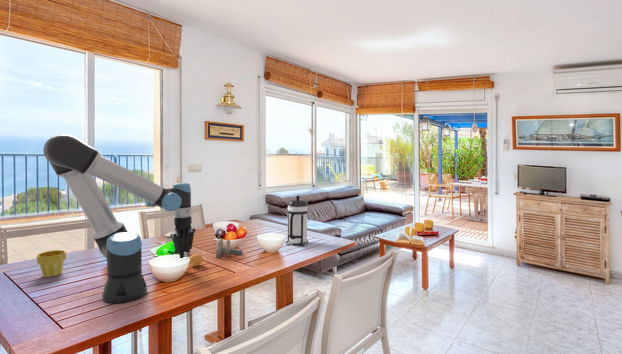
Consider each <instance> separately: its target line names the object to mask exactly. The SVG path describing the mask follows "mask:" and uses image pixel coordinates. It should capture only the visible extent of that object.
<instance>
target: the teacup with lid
mask: <svg viewBox="0 0 622 354" xmlns="http://www.w3.org/2000/svg"><path fill="white" fill-rule="evenodd" d="M174 232H175V229H172V230H171V231H169V232H168V233H166V234H165V235H164V238H165V244H166V243H168V242H170V241H173V239H172V237H171V235H170V234H171V233H174Z"/></svg>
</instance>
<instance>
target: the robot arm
mask: <svg viewBox="0 0 622 354" xmlns="http://www.w3.org/2000/svg"><path fill="white" fill-rule="evenodd" d="M43 156H44V157H45V159H46V160H47V161H48V162H49V164H50V165H51V167H52V169H53V171H54V173H55V174H56V176H57V177H61V178H63V179H64V180H65V182H66V184H67V186H68V188H69V189H70V190H71V192H72V194H73V197H74V198H75V199H76V201H77V203H78V204H79V206H80V208H81V209H82V212H83V214H84V215H85V217H86V218H87V221H88V222H89V224H90V226H91V228H92V229H93V231H94V233H93V236H92V238H93V240H94V241H95V244H96V245H97V247H98V250H99V252H100V253H101V255H102V256H104V258H105V259H106V268H107V270H106V271H107V279H106V282H105V284H104V288H103V291H102V300H103V302H105V303H109V304H124V303H130V302H133V301H136V300H139V299H141V298H143V297H144V296H145V295H146V294H147V293H148V286H147V283H146V281H145V280H146V279H145V277H144V275H143V271H142V270H143V269H142V268H143V267H142V266H143V265H142V264H143V263H142V254H143V253H142V245H143V244H142V237H141V236H140V235H139V234H138V233H135V232H128V229H127V228H126V226H125V224H124V223H123V222H120V221H118V220H117V218H116V216H115V215H114V213H113V211H112V209H111V207H110V205H109V204H108V202H107V199H106V198H105V197H104V194H103V193H102V190H101V189H100V187H99V185H98V183H97V181H96V179H95V178H94V177H96V178H97V179H100V180H102V181H103V182H106V183H107V184H110V185H113V186H114V187H117V188H118V189H121V190H122V191H125V192H128V193H129V194H132V195H133V196H136V197H138V198H139V199H140V198H141V200H142V199H143V200H144V204H145V206H146V207H148V208H155V207H158V208H161V209H164V210H165V211H167V212H173V217H174V218H173V219H174V220H173V222H174V226H175V229H174V230H175V232H174V233H171V234H170V235H171V237H172V239H173V243H174V247H175V251H176V252H175V253H177V254H179V259H180V258H183V257H188V258H189V253H190V252H191V250H192V249H193V242H194V235H195V232H196V228H193V227H192V222H193V220H192V189H191V184H190V183H188V182H176V183H173V184H172V187H170V188H164V187H163V186H161V185H159V184H157V183H155V182H153V181H151V180H150V179H147V178H145V177H143V176H141V175H139V174H137V173H136V172H134V171H131V170H130V169H128V168H126V167H124V166H122V165H120V164H119V163H116V162H115V161H112V160H110V159H109V158H106V157H105V156H103V155H101V153H100V151H99V150H98V149H95V148H94V147H92V146H90V145H88V144H87V143H85V142H84V141H83V140H81V139H80V138H79V137H76V136H74V135H71V134H59V135H55V136H53V137H52V136H51V137H50V138H49V139H48V140H46V142H45V144H44V145H43Z"/></svg>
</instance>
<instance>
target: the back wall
mask: <svg viewBox="0 0 622 354" xmlns="http://www.w3.org/2000/svg"><path fill="white" fill-rule="evenodd" d="M223 254H225V246H223ZM230 255H235V256H243V250H242V249H237V248H231V247H230Z"/></svg>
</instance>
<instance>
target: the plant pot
mask: <svg viewBox="0 0 622 354" xmlns="http://www.w3.org/2000/svg"><path fill="white" fill-rule="evenodd" d="M66 259H67V254H66V250H63V249H56V250H48V251H43V252H41V253H39V254H37V255H36V263H37V264H38V265H39V268H40V270H41V273H42V277H44V278H53V277H52V276H54V277H57V275H58V276H60V275H62V273H63V270H64V262H65V260H66ZM59 274H60V275H59Z"/></svg>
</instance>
